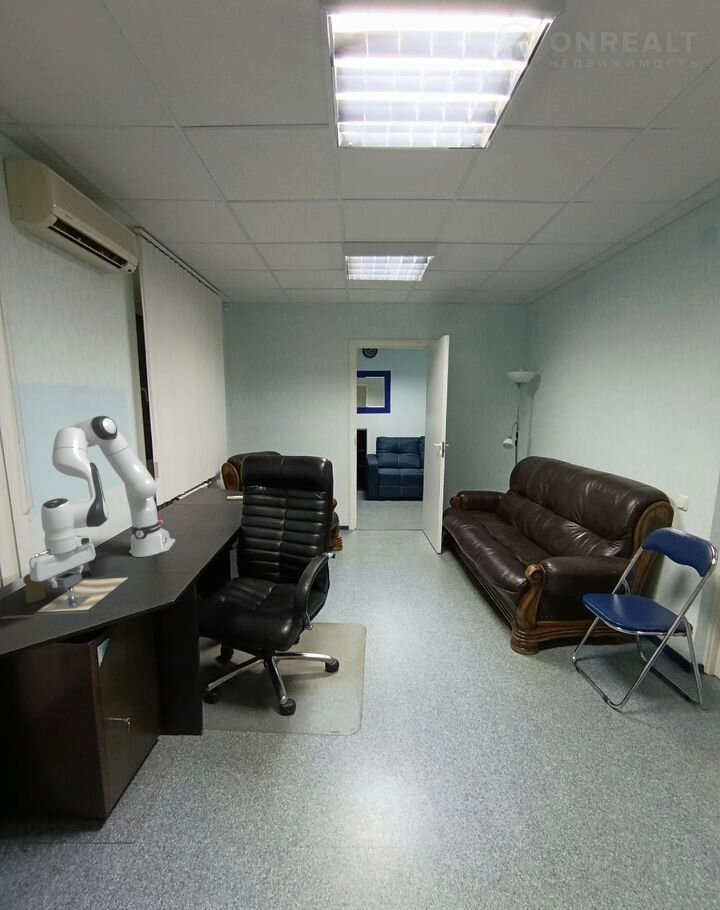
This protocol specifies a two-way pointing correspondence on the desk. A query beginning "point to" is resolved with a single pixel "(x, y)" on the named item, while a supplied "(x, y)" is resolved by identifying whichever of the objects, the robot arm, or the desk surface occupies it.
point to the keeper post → (71, 600)
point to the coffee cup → (98, 564)
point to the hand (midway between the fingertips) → (67, 581)
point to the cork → (33, 590)
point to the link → (68, 579)
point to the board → (85, 594)
